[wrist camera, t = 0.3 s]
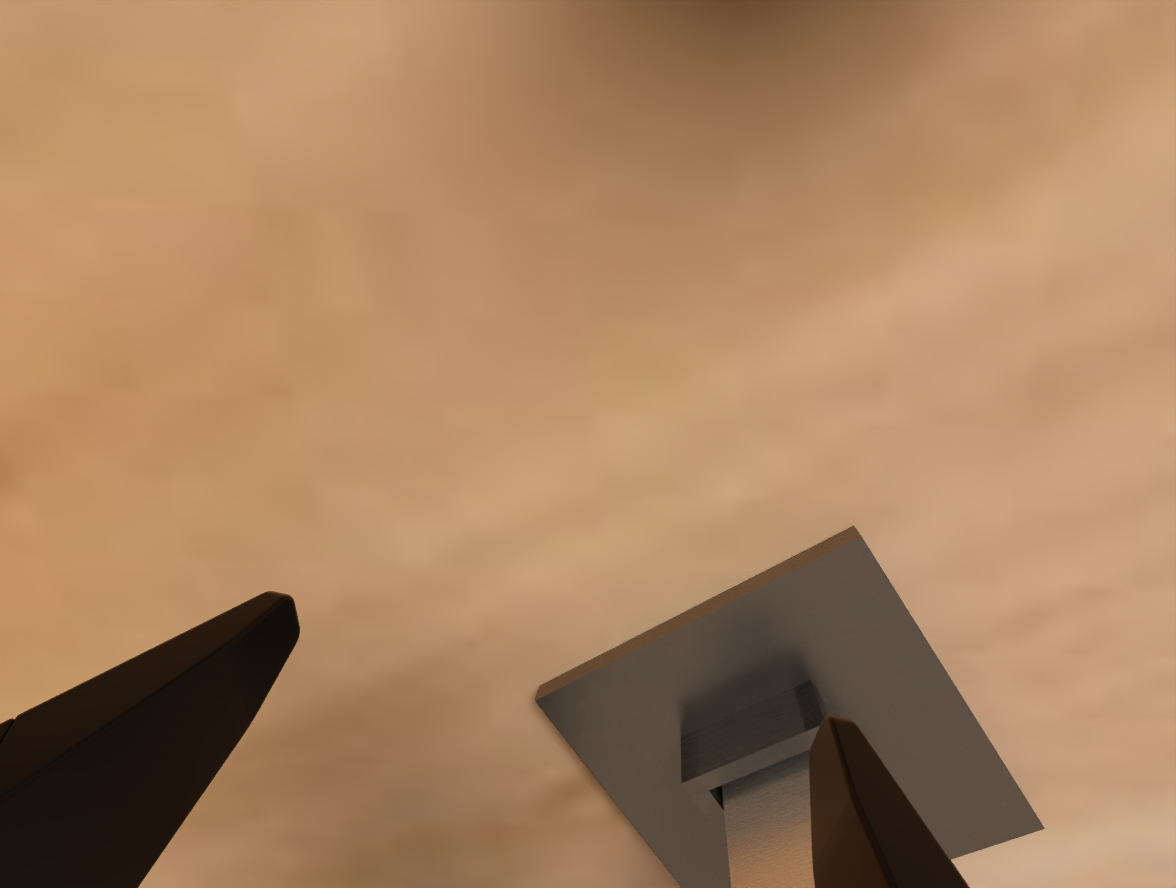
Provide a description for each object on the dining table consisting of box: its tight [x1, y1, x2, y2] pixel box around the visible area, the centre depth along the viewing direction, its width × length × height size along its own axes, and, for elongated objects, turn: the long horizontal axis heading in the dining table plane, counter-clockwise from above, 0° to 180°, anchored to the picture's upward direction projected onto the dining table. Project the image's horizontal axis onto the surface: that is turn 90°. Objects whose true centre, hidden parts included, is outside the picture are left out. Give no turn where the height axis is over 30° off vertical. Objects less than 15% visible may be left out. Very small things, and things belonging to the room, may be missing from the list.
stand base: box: [535, 526, 1045, 888], centre depth 25 cm, size 16×16×4 cm
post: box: [722, 749, 815, 888], centre depth 22 cm, size 4×4×9 cm
